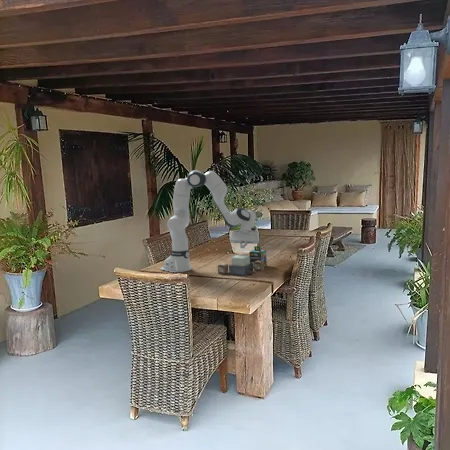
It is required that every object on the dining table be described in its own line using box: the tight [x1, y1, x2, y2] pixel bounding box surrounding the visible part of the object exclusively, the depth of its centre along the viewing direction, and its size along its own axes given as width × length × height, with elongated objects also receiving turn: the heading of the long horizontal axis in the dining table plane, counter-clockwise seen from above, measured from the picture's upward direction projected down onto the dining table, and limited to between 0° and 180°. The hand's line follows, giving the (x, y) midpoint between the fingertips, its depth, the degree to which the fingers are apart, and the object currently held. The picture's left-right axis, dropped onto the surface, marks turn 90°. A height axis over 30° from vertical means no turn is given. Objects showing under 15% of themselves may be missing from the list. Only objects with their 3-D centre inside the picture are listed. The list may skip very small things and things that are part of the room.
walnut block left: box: [217, 263, 229, 275], centre depth 293 cm, size 5×5×6 cm
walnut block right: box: [253, 261, 265, 272], centre depth 297 cm, size 5×5×6 cm
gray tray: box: [228, 263, 254, 277], centre depth 292 cm, size 12×12×6 cm
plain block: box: [230, 254, 250, 266], centre depth 292 cm, size 9×9×8 cm
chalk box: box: [249, 245, 268, 269], centre depth 307 cm, size 9×9×15 cm
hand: (242, 247), depth 295 cm, fingers closed
